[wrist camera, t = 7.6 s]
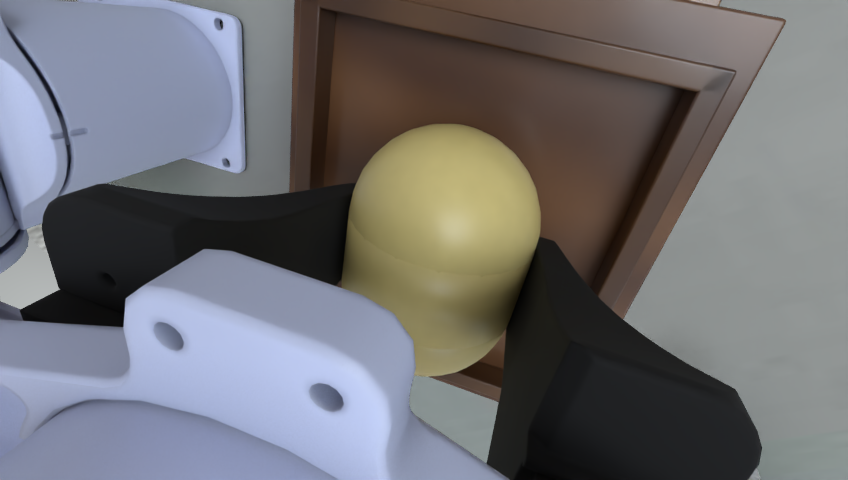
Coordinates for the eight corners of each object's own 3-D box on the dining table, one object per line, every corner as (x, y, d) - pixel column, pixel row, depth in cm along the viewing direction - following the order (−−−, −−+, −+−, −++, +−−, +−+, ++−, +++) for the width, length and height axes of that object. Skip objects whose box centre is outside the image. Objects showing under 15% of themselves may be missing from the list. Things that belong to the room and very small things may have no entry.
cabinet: (385, -36, 17) (295, -75, 11) (696, 26, 15) (789, 19, 9) (351, 254, 24) (284, 325, 18) (561, 322, 22) (564, 427, 16)
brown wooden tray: (302, 310, 17) (289, 324, 16) (319, -19, 12) (300, -23, 11) (555, 399, 16) (555, 420, 15) (723, 67, 10) (739, 70, 9)
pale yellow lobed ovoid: (371, 284, 16) (302, 377, 11) (401, 91, 12) (318, 120, 8) (498, 326, 15) (475, 444, 11) (567, 133, 11) (575, 190, 7)
